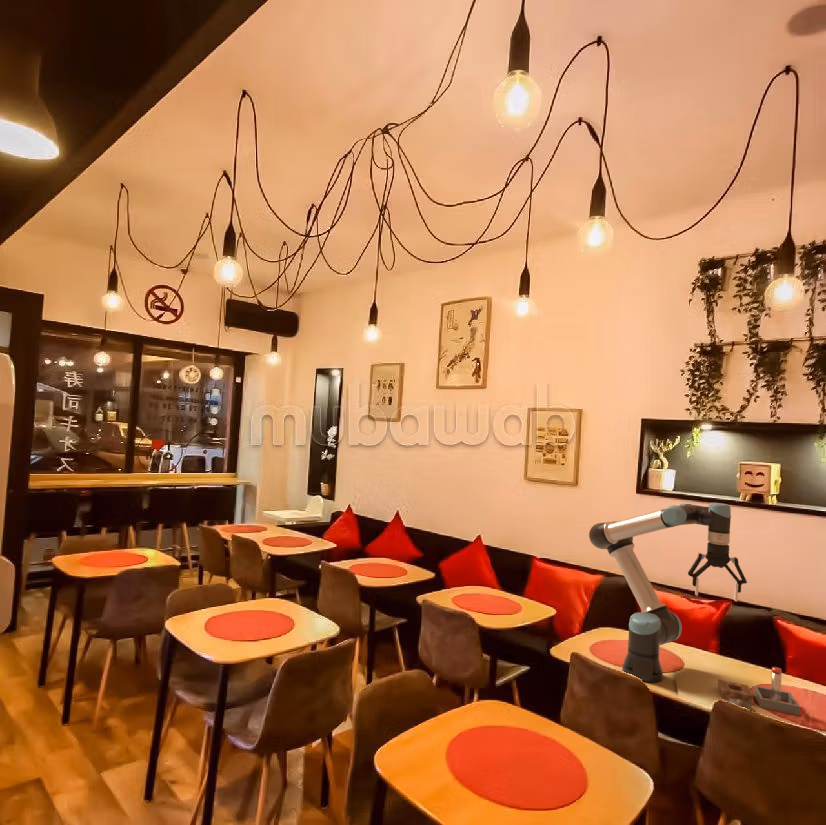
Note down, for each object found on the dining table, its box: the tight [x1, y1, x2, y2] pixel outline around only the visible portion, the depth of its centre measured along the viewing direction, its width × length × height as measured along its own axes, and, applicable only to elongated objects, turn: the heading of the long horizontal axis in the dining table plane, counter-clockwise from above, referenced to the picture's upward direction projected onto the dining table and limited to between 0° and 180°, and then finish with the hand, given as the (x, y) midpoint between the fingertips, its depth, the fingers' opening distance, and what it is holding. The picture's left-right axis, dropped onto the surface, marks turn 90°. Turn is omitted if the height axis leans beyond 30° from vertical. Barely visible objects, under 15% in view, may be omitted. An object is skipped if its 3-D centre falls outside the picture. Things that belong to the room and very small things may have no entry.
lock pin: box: [770, 666, 782, 702], centre depth 206 cm, size 3×3×13 cm
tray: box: [752, 685, 801, 716], centre depth 205 cm, size 12×12×4 cm
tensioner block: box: [717, 679, 755, 711], centre depth 206 cm, size 10×18×4 cm, turn 159°
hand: (715, 597), depth 219 cm, fingers open, 13 cm apart
